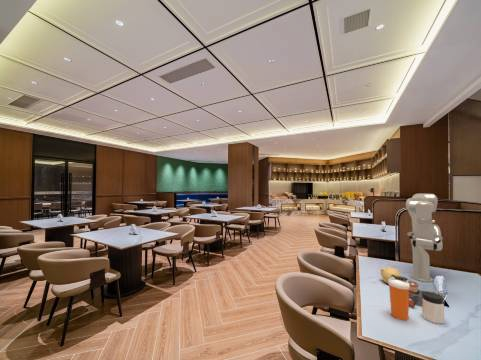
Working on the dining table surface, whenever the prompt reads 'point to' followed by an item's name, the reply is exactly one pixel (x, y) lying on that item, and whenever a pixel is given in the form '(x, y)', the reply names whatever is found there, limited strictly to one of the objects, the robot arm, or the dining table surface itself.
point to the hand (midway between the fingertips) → (424, 248)
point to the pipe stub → (413, 287)
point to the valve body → (415, 299)
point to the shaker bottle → (399, 296)
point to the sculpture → (389, 273)
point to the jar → (432, 307)
